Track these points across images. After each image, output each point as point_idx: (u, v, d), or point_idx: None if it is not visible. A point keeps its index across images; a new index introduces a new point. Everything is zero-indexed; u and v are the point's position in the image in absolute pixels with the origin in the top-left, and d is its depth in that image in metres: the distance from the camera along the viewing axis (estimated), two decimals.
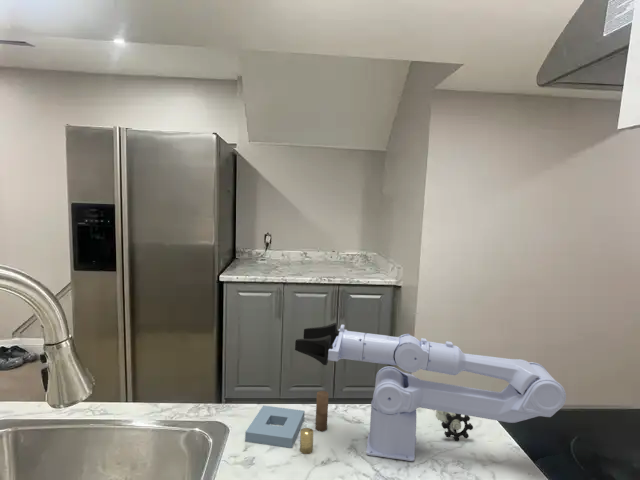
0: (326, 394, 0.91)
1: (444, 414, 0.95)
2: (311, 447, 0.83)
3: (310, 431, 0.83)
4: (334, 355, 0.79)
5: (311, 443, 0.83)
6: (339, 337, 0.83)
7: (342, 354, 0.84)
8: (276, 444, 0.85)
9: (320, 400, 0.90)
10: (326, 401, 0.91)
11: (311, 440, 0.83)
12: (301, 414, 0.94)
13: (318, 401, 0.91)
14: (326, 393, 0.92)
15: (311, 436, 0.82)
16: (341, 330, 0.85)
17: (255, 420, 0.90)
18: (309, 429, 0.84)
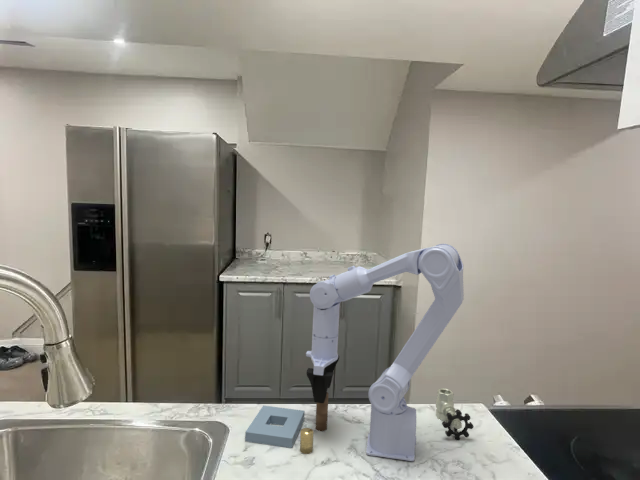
0: (326, 394, 0.91)
1: (444, 413, 0.96)
2: (311, 447, 0.83)
3: (310, 431, 0.83)
4: (317, 369, 0.84)
5: (311, 443, 0.83)
6: (311, 359, 0.89)
7: (328, 356, 0.88)
8: (276, 444, 0.85)
9: None
10: (326, 401, 0.91)
11: (311, 440, 0.83)
12: (301, 414, 0.94)
13: None
14: None
15: (311, 436, 0.82)
16: (308, 355, 0.90)
17: (255, 420, 0.90)
18: (309, 429, 0.84)
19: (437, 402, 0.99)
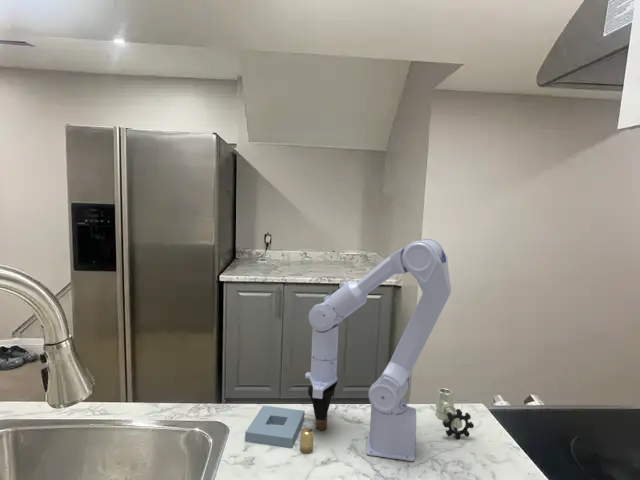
0: None
1: (444, 413, 0.96)
2: (311, 447, 0.83)
3: (310, 431, 0.83)
4: (316, 392, 0.84)
5: (311, 443, 0.83)
6: (311, 381, 0.89)
7: (327, 379, 0.89)
8: (276, 444, 0.85)
9: None
10: None
11: (311, 440, 0.83)
12: (301, 414, 0.94)
13: None
14: None
15: (311, 436, 0.82)
16: (308, 377, 0.91)
17: (255, 420, 0.90)
18: (309, 429, 0.84)
19: (437, 402, 0.99)
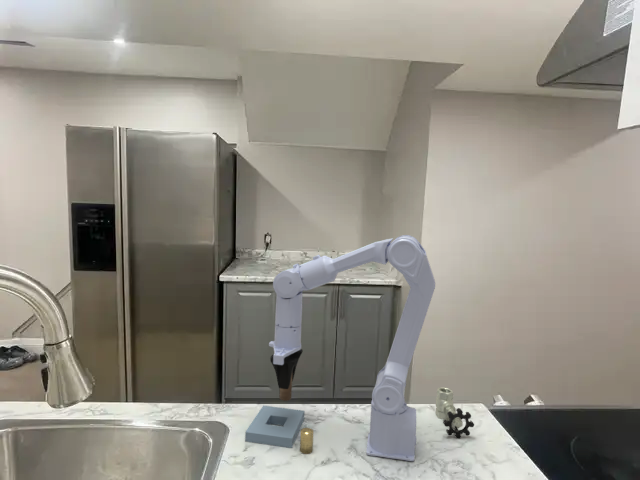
0: None
1: (444, 412, 0.96)
2: (311, 447, 0.83)
3: (310, 431, 0.83)
4: (277, 358, 0.83)
5: (311, 443, 0.83)
6: None
7: (290, 346, 0.87)
8: (276, 444, 0.85)
9: None
10: None
11: (311, 440, 0.83)
12: (301, 414, 0.94)
13: None
14: None
15: (311, 436, 0.82)
16: (271, 345, 0.89)
17: (255, 420, 0.90)
18: (309, 429, 0.84)
19: (437, 401, 0.99)
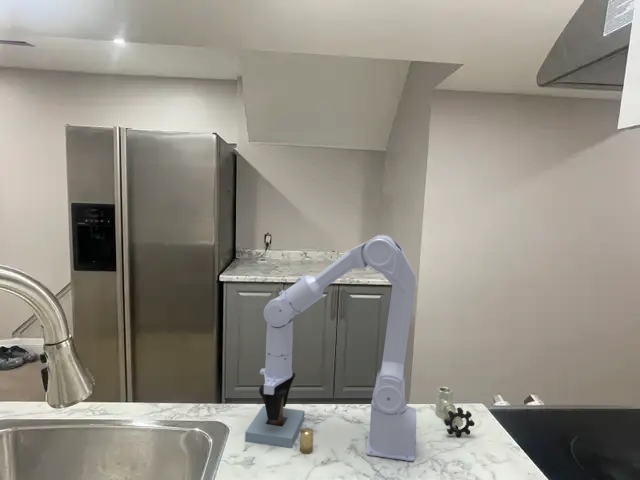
0: None
1: (445, 411, 0.97)
2: (311, 447, 0.83)
3: (310, 431, 0.83)
4: (267, 388, 0.83)
5: (311, 443, 0.83)
6: None
7: (280, 375, 0.87)
8: (276, 444, 0.85)
9: None
10: None
11: (311, 440, 0.83)
12: (301, 414, 0.94)
13: None
14: None
15: (311, 436, 0.82)
16: (262, 373, 0.89)
17: (255, 420, 0.90)
18: (309, 429, 0.84)
19: (437, 400, 1.00)
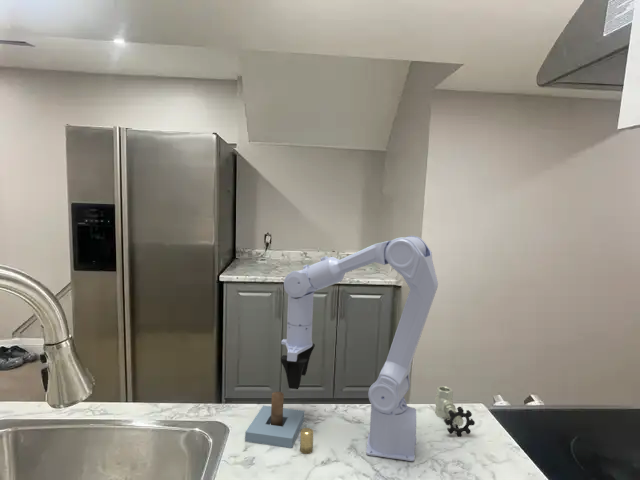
0: (281, 395, 0.90)
1: (445, 411, 0.97)
2: (311, 447, 0.83)
3: (310, 431, 0.83)
4: (291, 355, 0.87)
5: (311, 443, 0.83)
6: (286, 346, 0.91)
7: (302, 344, 0.91)
8: (276, 444, 0.85)
9: (275, 401, 0.89)
10: (281, 402, 0.90)
11: (311, 440, 0.83)
12: (301, 414, 0.94)
13: (273, 402, 0.89)
14: (281, 394, 0.90)
15: (311, 436, 0.82)
16: (284, 343, 0.93)
17: (255, 420, 0.90)
18: (309, 429, 0.84)
19: (437, 400, 1.00)
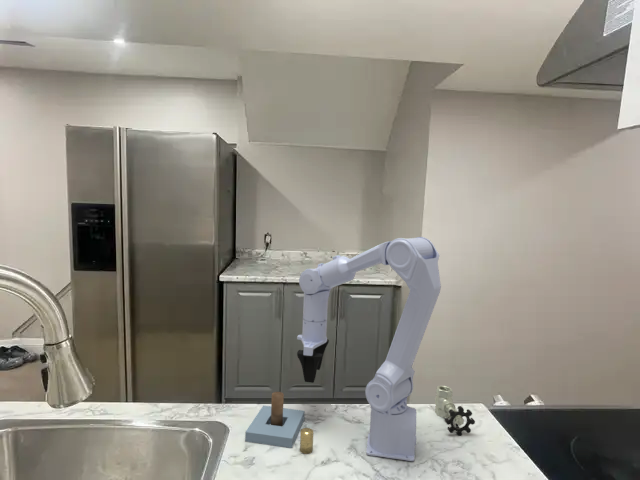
0: (281, 395, 0.90)
1: (445, 410, 0.97)
2: (311, 447, 0.83)
3: (310, 431, 0.83)
4: (307, 350, 0.90)
5: (311, 443, 0.83)
6: (302, 341, 0.95)
7: (317, 339, 0.95)
8: (276, 444, 0.85)
9: (275, 401, 0.89)
10: (281, 402, 0.89)
11: (311, 440, 0.83)
12: (301, 414, 0.94)
13: (273, 402, 0.89)
14: (281, 394, 0.90)
15: (311, 436, 0.82)
16: (299, 338, 0.97)
17: (255, 420, 0.90)
18: (309, 429, 0.84)
19: (436, 399, 1.00)
